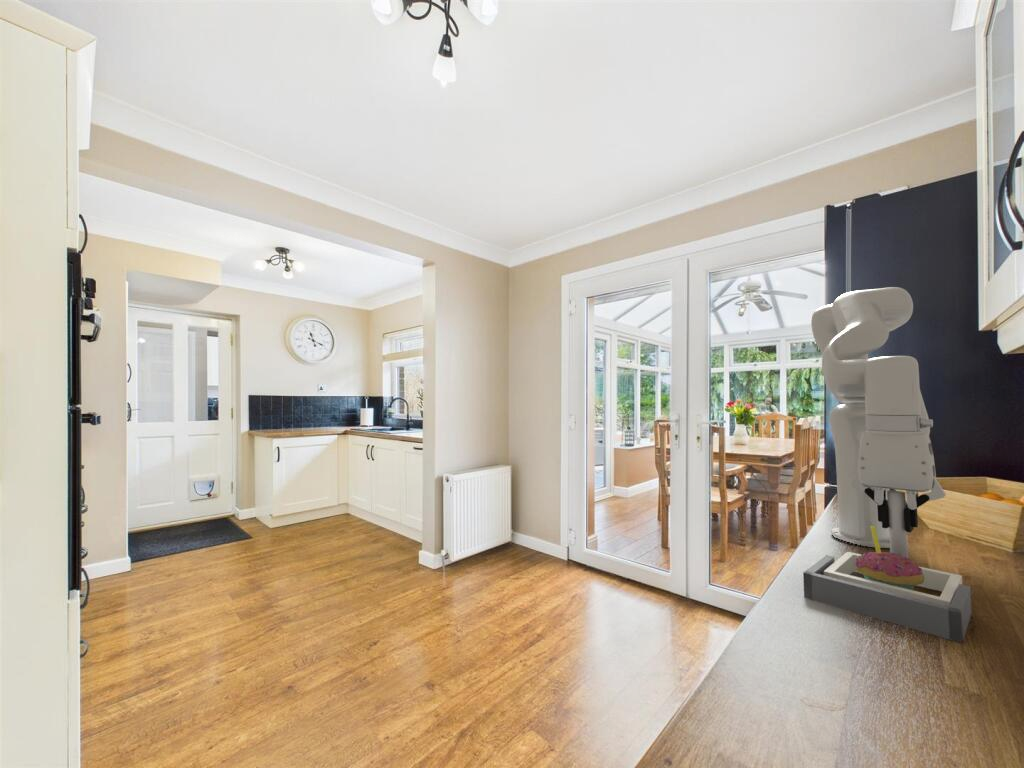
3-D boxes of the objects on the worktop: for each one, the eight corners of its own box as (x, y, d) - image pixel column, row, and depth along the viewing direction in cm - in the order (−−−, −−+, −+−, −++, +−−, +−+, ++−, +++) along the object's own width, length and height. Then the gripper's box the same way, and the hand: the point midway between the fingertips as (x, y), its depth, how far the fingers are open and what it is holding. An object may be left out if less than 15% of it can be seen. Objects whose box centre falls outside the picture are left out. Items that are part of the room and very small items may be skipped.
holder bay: (827, 577, 81) (826, 554, 81) (971, 613, 67) (970, 586, 67) (804, 597, 73) (803, 572, 73) (962, 643, 59) (960, 612, 59)
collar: (848, 566, 84) (845, 485, 85) (963, 592, 73) (958, 497, 73) (824, 589, 75) (820, 496, 75) (951, 623, 63) (945, 513, 64)
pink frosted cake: (854, 598, 72) (851, 524, 73) (859, 581, 78) (856, 514, 79) (926, 614, 66) (922, 534, 67) (925, 595, 73) (921, 522, 73)
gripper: (959, 425, 75) (965, 534, 74) (844, 422, 87) (848, 516, 87) (953, 428, 70) (959, 544, 70) (832, 424, 83) (836, 523, 82)
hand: (897, 527), depth 78 cm, fingers closed on collar, 2 cm apart
